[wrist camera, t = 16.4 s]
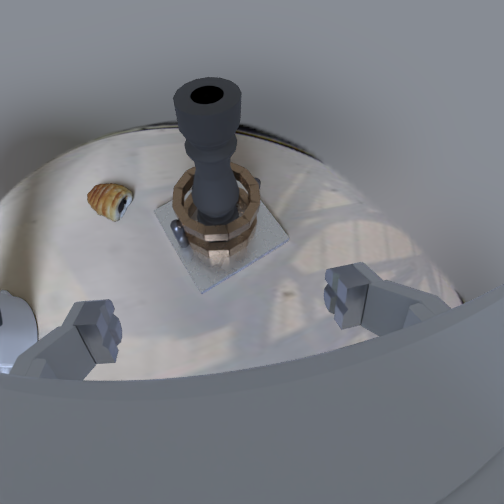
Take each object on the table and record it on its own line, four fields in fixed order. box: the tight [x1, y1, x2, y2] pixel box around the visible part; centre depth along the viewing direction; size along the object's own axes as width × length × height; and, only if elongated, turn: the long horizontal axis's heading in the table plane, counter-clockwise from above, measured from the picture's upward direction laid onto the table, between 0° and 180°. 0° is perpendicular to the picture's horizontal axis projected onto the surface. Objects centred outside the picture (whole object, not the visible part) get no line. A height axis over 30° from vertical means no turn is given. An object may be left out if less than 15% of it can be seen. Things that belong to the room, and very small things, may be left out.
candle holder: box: [173, 77, 241, 243], centre depth 31 cm, size 6×6×25 cm
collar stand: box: [154, 162, 289, 294], centre depth 40 cm, size 16×16×10 cm
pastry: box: [87, 183, 133, 222], centre depth 44 cm, size 9×7×4 cm
